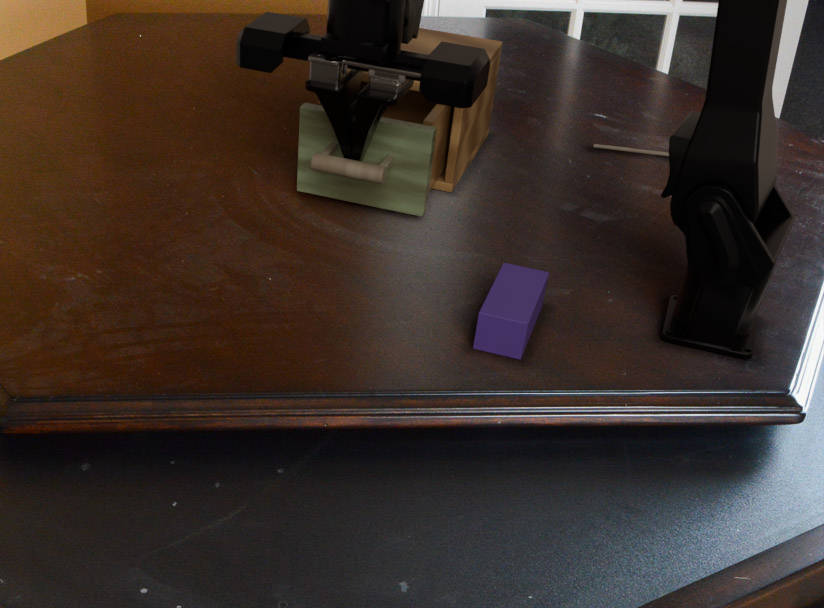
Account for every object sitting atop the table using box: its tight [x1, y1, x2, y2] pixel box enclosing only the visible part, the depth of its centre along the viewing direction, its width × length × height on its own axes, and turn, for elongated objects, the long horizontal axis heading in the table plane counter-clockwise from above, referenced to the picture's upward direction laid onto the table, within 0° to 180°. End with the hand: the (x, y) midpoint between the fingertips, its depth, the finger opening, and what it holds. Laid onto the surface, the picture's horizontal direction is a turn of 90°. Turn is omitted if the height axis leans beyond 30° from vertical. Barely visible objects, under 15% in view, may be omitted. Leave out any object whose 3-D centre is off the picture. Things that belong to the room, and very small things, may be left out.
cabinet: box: [361, 27, 504, 193], centre depth 98 cm, size 15×13×9 cm
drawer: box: [296, 81, 454, 218], centre depth 91 cm, size 18×11×7 cm, turn 160°
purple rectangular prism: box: [472, 262, 550, 361], centre depth 77 cm, size 4×8×3 cm, turn 160°
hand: (354, 166), depth 86 cm, fingers closed, pressing on drawer
